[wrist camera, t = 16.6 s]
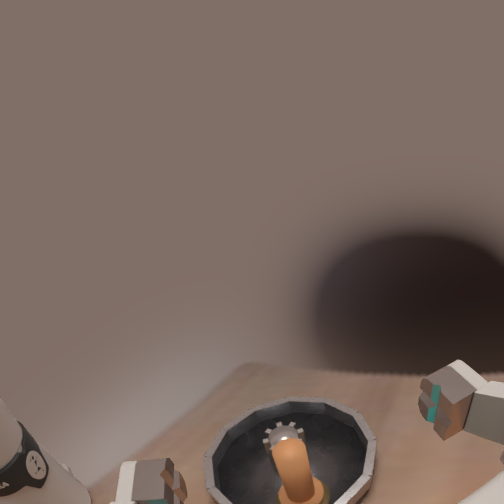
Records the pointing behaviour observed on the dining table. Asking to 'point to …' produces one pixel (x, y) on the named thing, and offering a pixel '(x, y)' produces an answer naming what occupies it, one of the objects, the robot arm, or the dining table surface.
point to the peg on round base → (296, 474)
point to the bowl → (300, 427)
